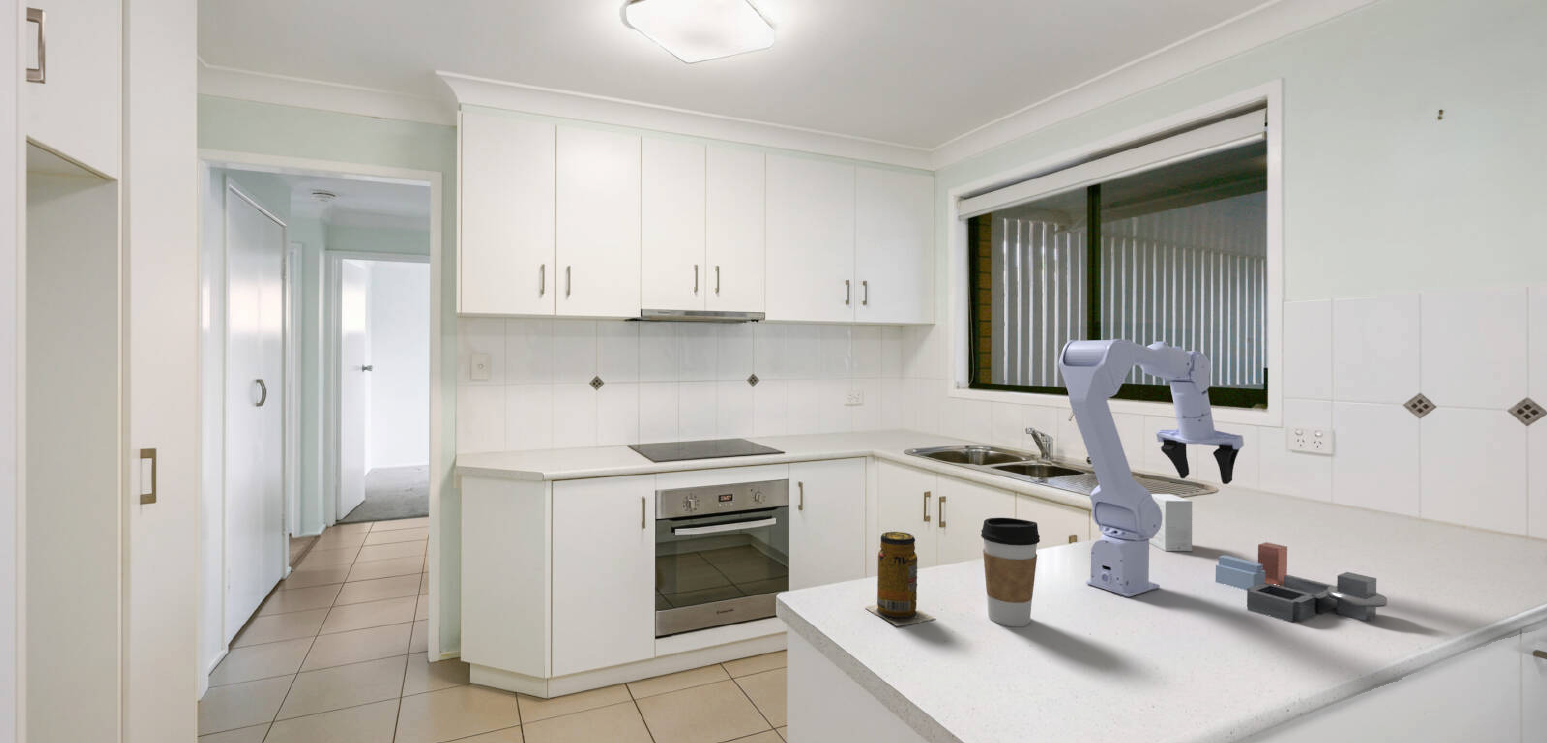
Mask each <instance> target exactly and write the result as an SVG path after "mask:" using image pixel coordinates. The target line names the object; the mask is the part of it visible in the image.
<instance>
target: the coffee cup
mask: <svg viewBox="0 0 1547 743" xmlns="http://www.w3.org/2000/svg"><path fill="white" fill-rule="evenodd" d="M980 536H981V538H982V539H983V544H984V545H983V547H984V548H983V549H982V550H983V562H984V565H983V566H984V576H985V586H986V589H985V590H986V594H987V595H986V596H987V597H986V599H987V612H988V618H989V619H990V620H991V621H992V622H994V623H996V624H998V625H1001V626H1005V627H1006V626H1008V627H1024V626H1027V625H1029V624H1030V622H1031V613H1032V601H1033V594H1034V585H1035V578H1036V568H1037V560H1038V554H1037V544H1039V543H1040V542H1041V539H1040V534H1039V527H1038V522H1036V521H1032V520H1026V519H1020V518H1013V517H990V518H986V519H984V521H983V525H982V529H981V535H980Z"/></svg>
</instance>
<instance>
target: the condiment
mask: <svg viewBox="0 0 1547 743" xmlns="http://www.w3.org/2000/svg"><path fill="white" fill-rule="evenodd" d="M915 542H916V538H915V536H914V535H912V534H910V533H908V532H901V531H888V532H884V533H882V534H881V535H880V545H879V546H880V547H879V548H880V549H879V551H878V554H877V584H876V585H877V586H876V588H877V590H876V591H877V593H876V594H877V595H876V605H873V604H872V605H867V606H864V608H865V609H867V610H868V611H870V612H871V613H873V614H874V615H876V616H878V617H879V618H882V619H884V620H885V621H887V622H889V623H891V624H893V625H894V626H907V625H913V624H917V623H919V624H920V623H922V622H929V621H932V620H935V619H936V617H934V616H932V615H929V613H926V612H924V611H922V610H920V609H918V608H917V598H918V592H917V590H918V582H917V581H918V556H917V554H916V552H915V550H916V546H915V545H916V544H915Z"/></svg>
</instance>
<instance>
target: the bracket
mask: <svg viewBox="0 0 1547 743" xmlns="http://www.w3.org/2000/svg"><path fill="white" fill-rule="evenodd" d="M1262 568H1263V564H1260V563H1258V562H1255V561H1252V560H1251V561H1250V560H1247V559H1246V560H1245V559H1242V558H1237V557H1234V556H1231V555H1230V556H1229V555H1221V556H1218V564H1215V583H1217V584H1221V585H1224V584H1226V585H1225V586H1228V585H1229V587H1232V586H1233V587H1232V588H1236V587H1237V588H1236V589H1239V588H1240V590H1243V589H1244V590H1243V591H1247V588H1250V587H1253V586H1256V585H1259V584H1262V583H1265V571H1264V570H1262Z"/></svg>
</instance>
